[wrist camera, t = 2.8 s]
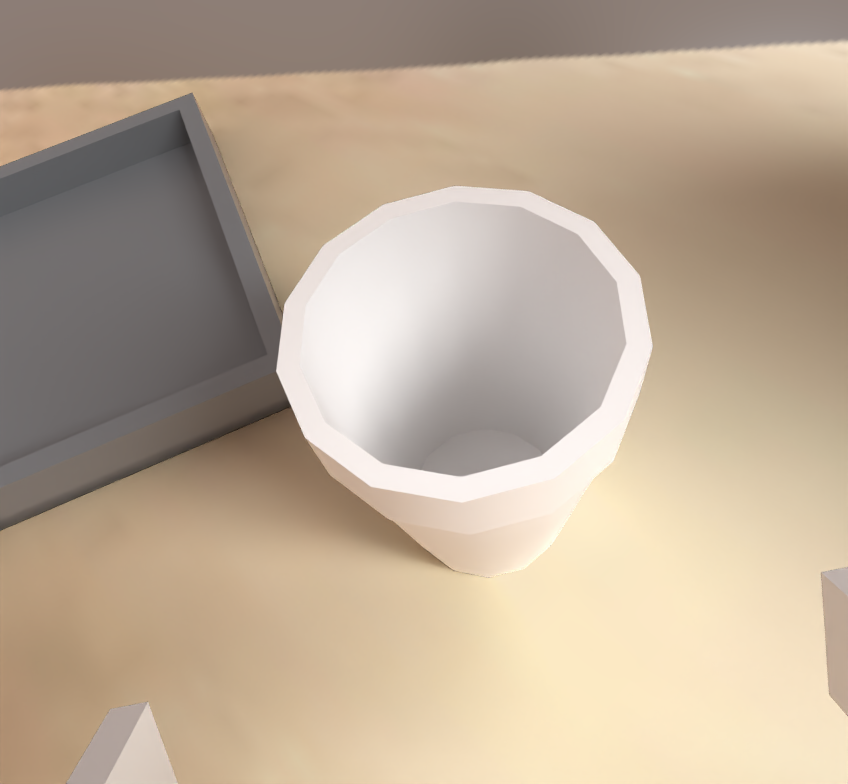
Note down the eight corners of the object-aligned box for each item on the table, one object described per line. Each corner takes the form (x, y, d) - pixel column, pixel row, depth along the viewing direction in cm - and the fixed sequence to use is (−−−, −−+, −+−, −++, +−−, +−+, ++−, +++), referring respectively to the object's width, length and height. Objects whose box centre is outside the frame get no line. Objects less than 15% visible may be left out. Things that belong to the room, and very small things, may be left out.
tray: (213, 134, 42) (192, 92, 40) (314, 396, 32) (295, 362, 30) (-111, 261, 41) (-155, 226, 38) (-107, 576, 31) (-165, 557, 28)
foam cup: (434, 372, 32) (383, 154, 21) (633, 442, 29) (697, 233, 18) (335, 560, 29) (208, 417, 17) (550, 661, 26) (565, 569, 14)
